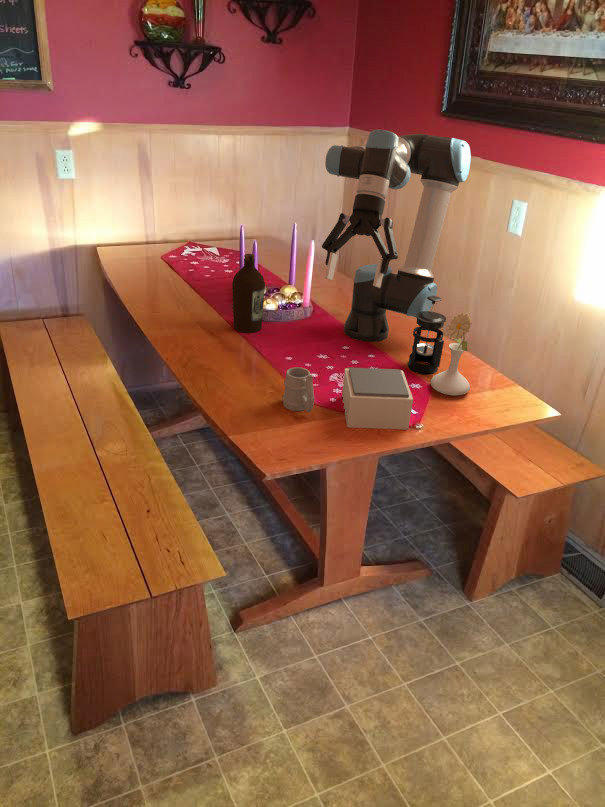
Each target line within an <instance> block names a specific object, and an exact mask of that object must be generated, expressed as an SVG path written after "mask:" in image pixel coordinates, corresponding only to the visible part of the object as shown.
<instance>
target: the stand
mask: <svg viewBox="0 0 605 807" xmlns="http://www.w3.org/2000/svg"><path fill="white" fill-rule="evenodd" d="M343 374H344V375H343V384H342V385H343V387H342V392H341V395H342V396H341V398H342V397H343V400H342V404H343V403H344V406H343V410H344V409H345V412H344V417H345V421H346V422H345V423H346V427H347V428H353V429H354V428H356V429H357V428H358V429H359V428H360V429H385V430H409V429H410V428H409V427H410V420H411V414H412V409H413V403H414V398H413V395H412V392H411V390H410V387H409V384H408V381H407V378H406V375H405V372H404V371H403V370H401V369H399V368H398V369H397V368H394V369H393V368H369V367H350V366H349V367H347V368H344V372H343Z"/></svg>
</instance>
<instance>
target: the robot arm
mask: <svg viewBox="0 0 605 807" xmlns="http://www.w3.org/2000/svg"><path fill="white" fill-rule="evenodd" d="M471 155H472V154H471V148H470V145H469V143H468V142H467V141H465V140H463V139H458V138H455V137H446V136H439V135H438V136H437V135H430V134H424V133H413V134H412V133H411V134H404V135H397V134H396V133H394V132H393V131H390V130H386V129H374V130H371V131H370V132H369V133H368V135H367V141H366V143H365V144H364V145H356V146H355V145H354V146H344V145H343V144H342V145H335V144H334V145H332V146H331V147H329V149H328V150H327V153H326V155H325V161H324V162H325V169H326V171H327V173H328V174H330V175H332V176H337V177H343V178H349V179H353V180H354V179H356V180H358V182H357V187H356V193H357V194H356V195H355V196H354V201H353V205H352V212H351V215H348V214H345V213H343V212H342V213H340V214H339V216H338V220H337V222H336V223H335V225H334V226H333V228H332V229H331V231H330V232H329V234H328V236H327V237H326V238H325V240H324V241H323V243H322V244H321V249H323V250H325V251H326V253H327V254H326V257H325V258H326V259H325V263H324V264H325V265H326V266H327V267H326V271H325V276H324V279H326V280H328V281H333V280H334V275H335V271H336V266H337V262H338V256H339V255H338V254H337V252H338V251H339V250H340V249H341V248H342V247H343V246H345V244H347V243H348V242H349V240H351V238H353V237H355V236H365V237H366V236H367V237H371V238H372V240H373V242H374V244H375V245H376V248H377V250H378V252H379V254H380V257H381V258H378V261H377V263H371V264H365V265H362V266H360V267H358V268H357V269H356V270H355V273H354V278H353V285H352V286H353V288H352V296H351V298H352V299H351V309H350V311H349V313H348V316H347V317H346V320H345V322H344V326H343V333H344V335H345V336H347V337H349V338H350V339H352V340H357V341H361V342H366V343H375V342H381V341H384V340H385V339H387V338H388V337H389V330H390V328H389V323H388V319H387V311H390V312H393V313H397V314H402V315H405V316H407V317H413V318H416V314H417V313H419V312H423V311H430V310H431V309H432V305H433V304H432V301H430V300H428V299H427V297H428V296H437V294H438V285H437V284H436V283H435V282H434V281H435V275H434V274H433V272H432V270H433V269H432V268H433V265H434V261H435V256H436V254H437V249H438V246H439V242H440V238H441V233H442V231H443V226H444V222H445V218H446V215H447V211H448V207H449V205H450V204H449V203H450V200H451V195H452V193H453V192H455V191H456V190H458V189H459V185H460V183H464V182H466V181H467V179H468V176H469V173H470V168H471V158H472V157H471ZM411 174H415V175H418V176H419V175H420V180H419V181H420V182H421V184H422V186H423V188H422V193H421V197H420V201H419V206H418V209H417V214H416V217H415V221H414V224H413V229H412V232H411V237H410V241H409V246H408V249H407V253H406V256H405V261H404V264H403V265H402V266H400V267H399V268H398V270H397V274H395V273H392V272H393V269H392V267H391V266H390V262H391V261H392V260H398V258H399V254H398V253H399V252H398V249H397V245H396V240H395V235H394V230H393V226H394V221H393V220H392V219H391V218H389V217H385V218H382V217H383V214H384V210H385V206H386V205H385V204H386V200H385V199H386V198H387V197H388V191H389V189H391V190H400V189H403V188H404V187H405V186H407V184H408V183H409V181H410V179H411ZM347 224H350V225H349V226H347ZM346 226H347V227H346ZM381 226H382V228H383V231H384V236H385V241H386V245H387V246H386V245H385V243H384V241H383V238H382V237H381V234H380V232H379V230H378V229H379V228H380V227H381ZM345 228H346V229H345ZM343 231H344V232H343Z"/></svg>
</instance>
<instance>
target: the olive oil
mask: <svg viewBox="0 0 605 807" xmlns="http://www.w3.org/2000/svg"><path fill="white" fill-rule="evenodd" d="M243 256H244V259H243V266H242V267H241V268H240V269H239V270H238V271H237V272H236V273H235V275H234V276H233V278H232V282H231V283H232V284H231V285H232V286H231V288H232V289H231V290H232V310H233V312H232V313H233V314H232V315H233V317H232V319H233V320H232V322H233V329H234V330H235V331H237V332H240V333H244V334H253V333H257V331H258V332H259V331H261V330H262V328H263V327H262V326H263V316H264V301H265V291H266V289H265V288H266V283H265V278H264V276H263V274H262V273H261V272H260V271H259V269H257V268H256V266H255V254H253V253H245V254H244V255H243Z"/></svg>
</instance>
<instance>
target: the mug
mask: <svg viewBox="0 0 605 807" xmlns="http://www.w3.org/2000/svg"><path fill="white" fill-rule="evenodd" d="M283 384H284V391H283V392H284V393H283V395H282V398H281V399H282V402H283V407H284V408H286V409H287V410H290V411H292V412H301V411H306V413H310V412H312V410H313V409H314V404H315V394H314V393H315V392H314V383H313V374H311V372H310V370H308V369H307V368H304V367H301V366H300V367H299V366H296V367H290V368H289V369H287V370H286V374H285V380H284V382H283Z"/></svg>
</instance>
